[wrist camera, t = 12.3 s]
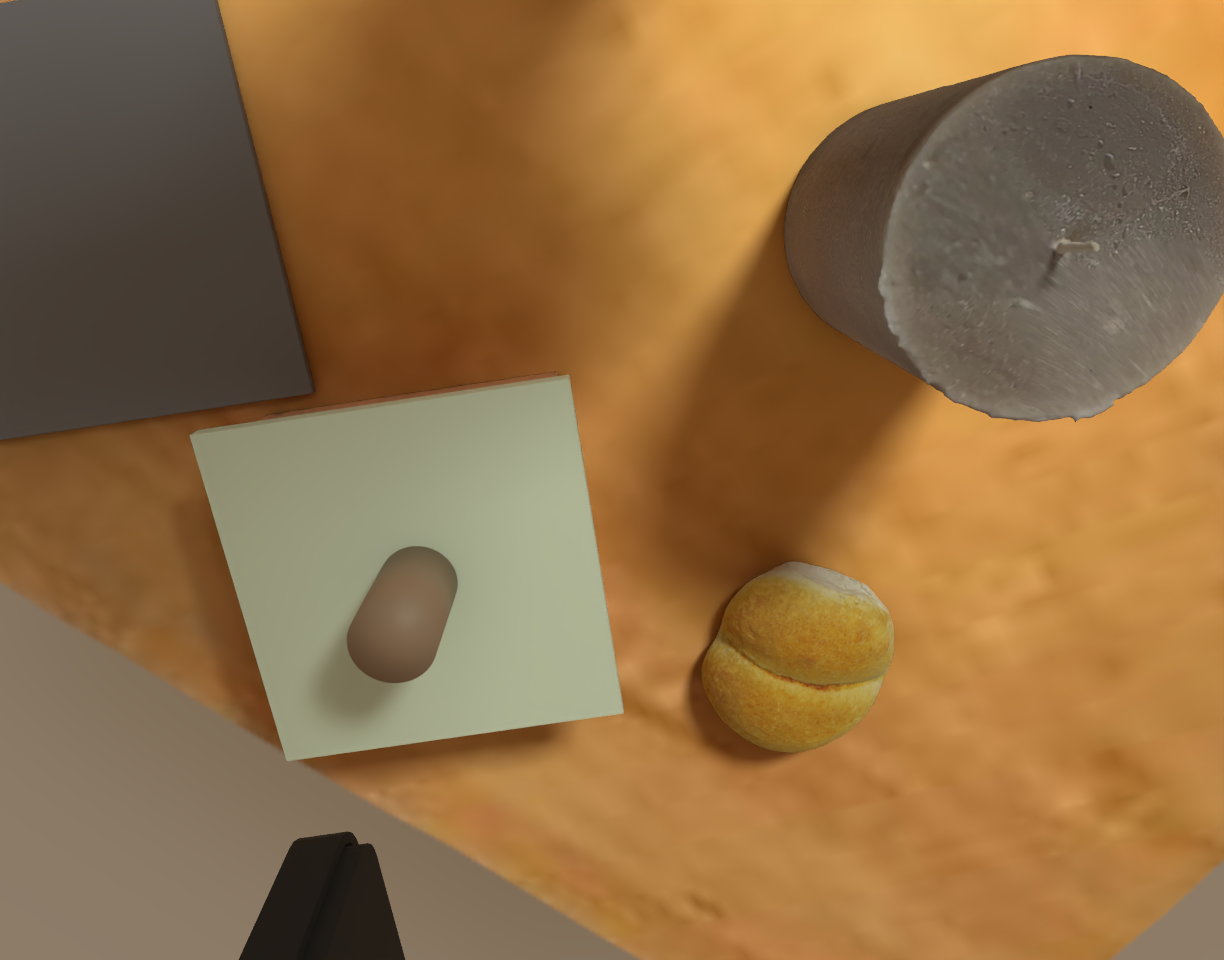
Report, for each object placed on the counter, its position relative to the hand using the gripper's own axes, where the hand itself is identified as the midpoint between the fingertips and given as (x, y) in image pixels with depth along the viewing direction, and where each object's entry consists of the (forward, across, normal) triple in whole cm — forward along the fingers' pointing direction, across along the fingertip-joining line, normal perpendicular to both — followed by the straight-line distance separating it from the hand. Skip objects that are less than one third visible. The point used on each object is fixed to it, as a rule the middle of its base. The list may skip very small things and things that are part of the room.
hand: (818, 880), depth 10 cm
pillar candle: (+31, -11, -4) cm, 33 cm away
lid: (+25, +10, +6) cm, 28 cm away
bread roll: (+31, -5, +14) cm, 34 cm away
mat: (+30, +22, -9) cm, 39 cm away
